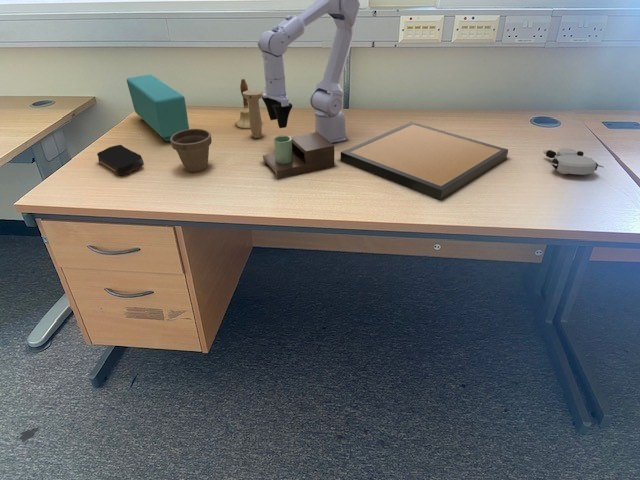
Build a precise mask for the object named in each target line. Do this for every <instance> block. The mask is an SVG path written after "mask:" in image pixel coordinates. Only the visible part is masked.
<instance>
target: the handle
mask: <svg viewBox="0 0 640 480" xmlns="http://www.w3.org/2000/svg"><path fill="white" fill-rule="evenodd" d="M262 94H264V93H263V91H261V90H258V89H257V90H253V89H251V90H248V91H244V92H243V96H242V98H243V97H244V98H246V99H247V100H248V106H249V121H250V128H249V129H250V132H251V136H252V138H254V139H261V137H262V136H263V121H262V115H261V109H260V99H262Z"/></svg>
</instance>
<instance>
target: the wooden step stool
mask: <svg viewBox="0 0 640 480" xmlns="http://www.w3.org/2000/svg"><path fill="white" fill-rule="evenodd" d="M290 137H291V138H292V155H293V160H292V162H290V163H286V164H280V163H277V162H276V161H275V152H273V153H268V154H263V155H262V161H263V164H264V166H266V165H267V166H269V168H270V169H272V171H273V172H274V174H275V178H276V179H277V180H280V179H285V178H288V177H292V176H298V175H302V174H306V173H311V172H316V171H320V170H325V169H331V168H333V167H334V168H335V145H334V143H330V142H329V141H328V140H327V139H325V138H324V137H323V136H321V135H320V134H319V133H318V132H316V131H315V132H310V133H305V134H300V135H295V136H290ZM302 158H304V161H303V160H302Z"/></svg>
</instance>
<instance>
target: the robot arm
mask: <svg viewBox="0 0 640 480" xmlns="http://www.w3.org/2000/svg"><path fill="white" fill-rule="evenodd" d="M360 5H361V4H360V1H359V0H315V1H314V2H313V3H311V4H310V5H309V6H308V7H307V8H306V9H304V10H303V11H302V12H301V13H300V14H299V15H295V14H287V15H286V16H285V17H284V20H282V21H281V22H280V23H278V24H277V25H273V27H272V29H271V30H265V31H263V32H262V33H261V34H260V36H259V41H258V42H257V47H258V50H260V51H261V54H262V55H261V56H262V61H263V70H264V71H263V72H264V85H265V86H264V93H263V94H262V97H261V99H262V102H263V103H264V106H265V107H266V110H267V115H268V117H269V119H270V121H277V125H278V128H279V129H285V128H287V127H288V120H289V116H290V112H291V111H292V108H293V104H292V103H291V102H289V98H288V93H287V90H286V89H287V88H286V73H285V53H286V52H287V50H288V46H290V45H291V44H292V43H294V41H296V40H297V39H298V38H300V37H301V36H303V35H304V33H305V29H306V27H308V26H309V25H310V24H312V23H314V22H315V21H317V20H318V19H320V18H322V17H323V16H325V15H326V14H327V15H328V16H329V18H330V19H331V20H332V21H333V22H334V25H335V26H336V30H335V34H334V37H333V40H332V45H331V49H330V51H329V56H328V59H327V63H326V67H325V70H324V74H323V78H322V80H321V81H319V82H318V83H316V85H315V88H314V89H313V92H311V95H310V98H309V102H310V103H309V104H310V106H311V108H313V112H314V124H315V125H314V127H315V132H318V133H319V134H320V135H321V136H323V137H324V138H325V139H327V140H328V141H329V142H330V143H332V144H334V143H338V142H343V141H347V138H346V117H345V115H344V113H343V111H342V108H343V96H344V91H343V90H342V88H341V81H342V77H343V74H344V71H345V67H346V65H347V61H348V57H349V53H350V49H351V46H352V43H353V39H354V36H355V34H356V33H355V32H356V29H357V17H358V13H359V9H360Z"/></svg>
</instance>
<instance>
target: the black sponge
mask: <svg viewBox="0 0 640 480" xmlns="http://www.w3.org/2000/svg"><path fill="white" fill-rule="evenodd" d="M96 156H97V159H98V163H99V164H101V165H103V166H105V167H107V168H108V169H110V170H112V171H113V172H115V174H116V175H119V176H124V175H126V174H129V173H130V172H133V171H135V170H137V169H139V168H142V167H144V164H145V162H144V160H143V157H142V155H141V154H139V153H137V152H135V151H133V150H131V149H130V148H129V149H128V148H127V147H125V146H123V145H122V144H115V145H113V146H109V147H106V148H105V149H103V150H100V151H99V152H97V153H96Z"/></svg>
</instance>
